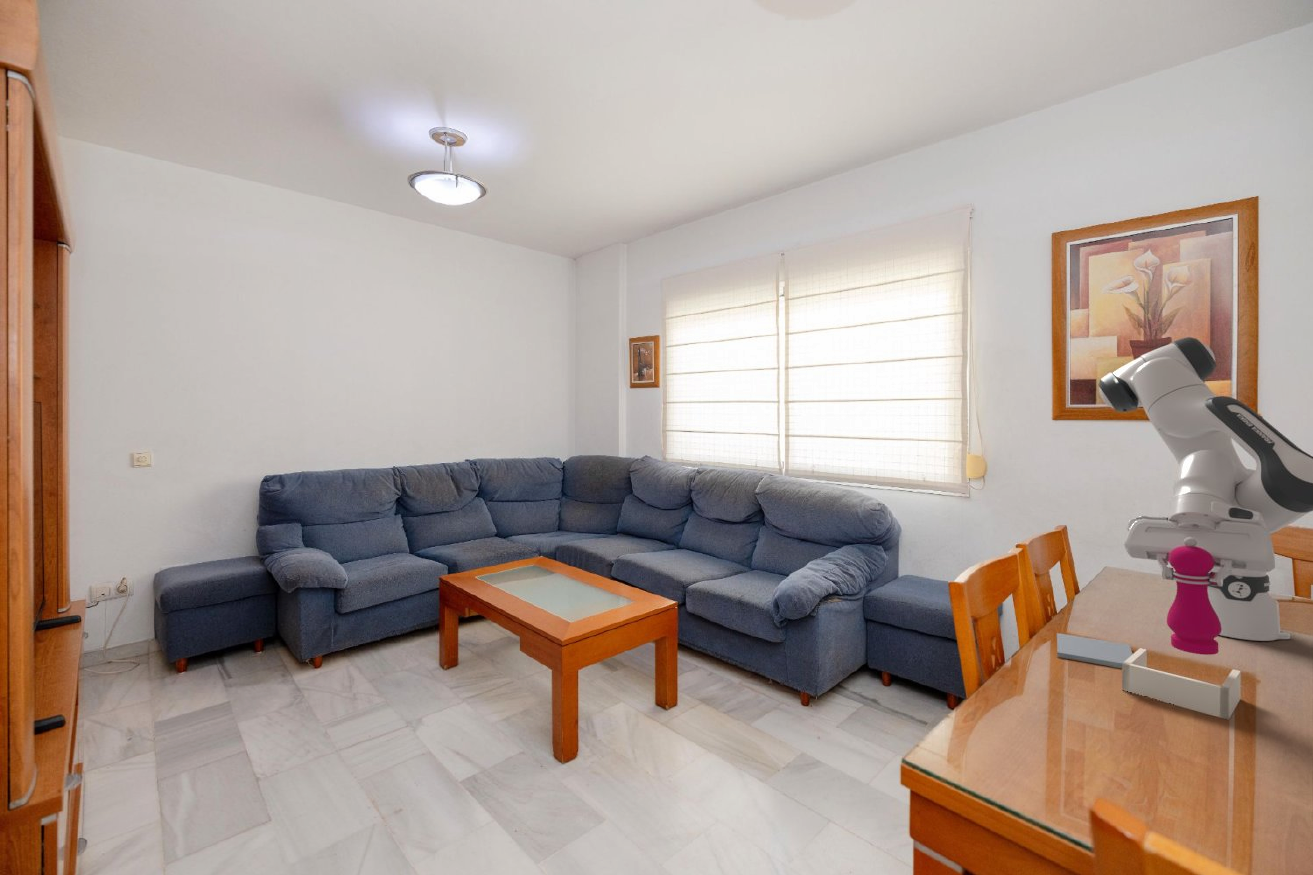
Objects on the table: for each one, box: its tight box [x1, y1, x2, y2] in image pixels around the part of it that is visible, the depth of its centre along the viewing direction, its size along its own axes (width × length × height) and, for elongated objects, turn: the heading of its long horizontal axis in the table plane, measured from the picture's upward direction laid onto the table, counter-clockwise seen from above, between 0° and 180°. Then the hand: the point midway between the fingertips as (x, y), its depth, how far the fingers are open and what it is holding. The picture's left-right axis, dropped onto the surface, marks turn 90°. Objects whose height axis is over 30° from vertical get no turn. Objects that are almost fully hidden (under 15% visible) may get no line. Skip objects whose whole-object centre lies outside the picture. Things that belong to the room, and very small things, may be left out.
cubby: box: [1121, 647, 1242, 721], centre depth 105 cm, size 12×14×5 cm
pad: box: [1056, 633, 1134, 669], centre depth 124 cm, size 14×13×1 cm
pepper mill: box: [1166, 538, 1222, 656], centre depth 104 cm, size 7×7×20 cm
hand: (1191, 580), depth 104 cm, fingers closed on pepper mill, 5 cm apart
